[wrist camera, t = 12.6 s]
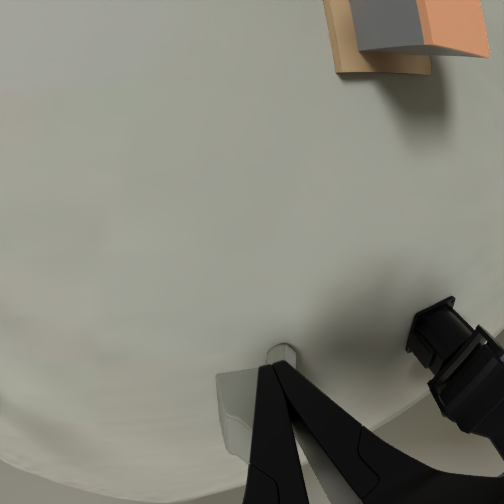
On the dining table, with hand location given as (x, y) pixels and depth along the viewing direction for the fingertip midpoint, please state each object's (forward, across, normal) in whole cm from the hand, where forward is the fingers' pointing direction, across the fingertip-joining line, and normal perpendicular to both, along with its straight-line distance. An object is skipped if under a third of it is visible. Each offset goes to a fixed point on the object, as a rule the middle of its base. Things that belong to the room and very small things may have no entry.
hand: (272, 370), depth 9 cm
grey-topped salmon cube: (+11, -13, -12) cm, 21 cm away
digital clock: (+12, 0, +20) cm, 23 cm away
